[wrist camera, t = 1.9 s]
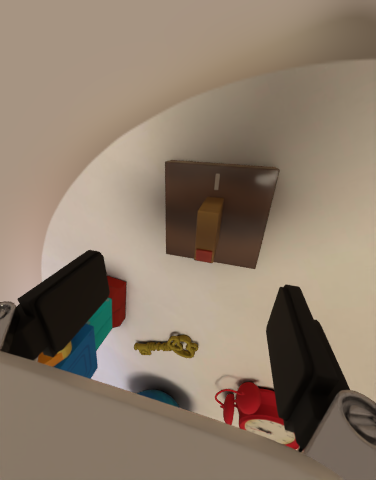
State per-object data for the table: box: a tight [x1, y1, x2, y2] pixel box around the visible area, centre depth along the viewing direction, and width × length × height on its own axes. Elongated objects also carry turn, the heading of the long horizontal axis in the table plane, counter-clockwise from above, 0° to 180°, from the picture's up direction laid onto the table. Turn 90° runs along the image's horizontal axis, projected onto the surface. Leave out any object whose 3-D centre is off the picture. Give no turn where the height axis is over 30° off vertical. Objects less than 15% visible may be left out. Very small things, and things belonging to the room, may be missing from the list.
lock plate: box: [165, 160, 280, 269], centre depth 20 cm, size 10×10×2 cm
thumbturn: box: [194, 197, 224, 263], centre depth 17 cm, size 4×2×5 cm, turn 177°
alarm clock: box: [215, 382, 299, 449], centre depth 32 cm, size 10×6×15 cm
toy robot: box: [38, 276, 126, 379], centre depth 20 cm, size 12×6×25 cm, turn 169°
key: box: [134, 335, 198, 358], centre depth 32 cm, size 12×1×5 cm
